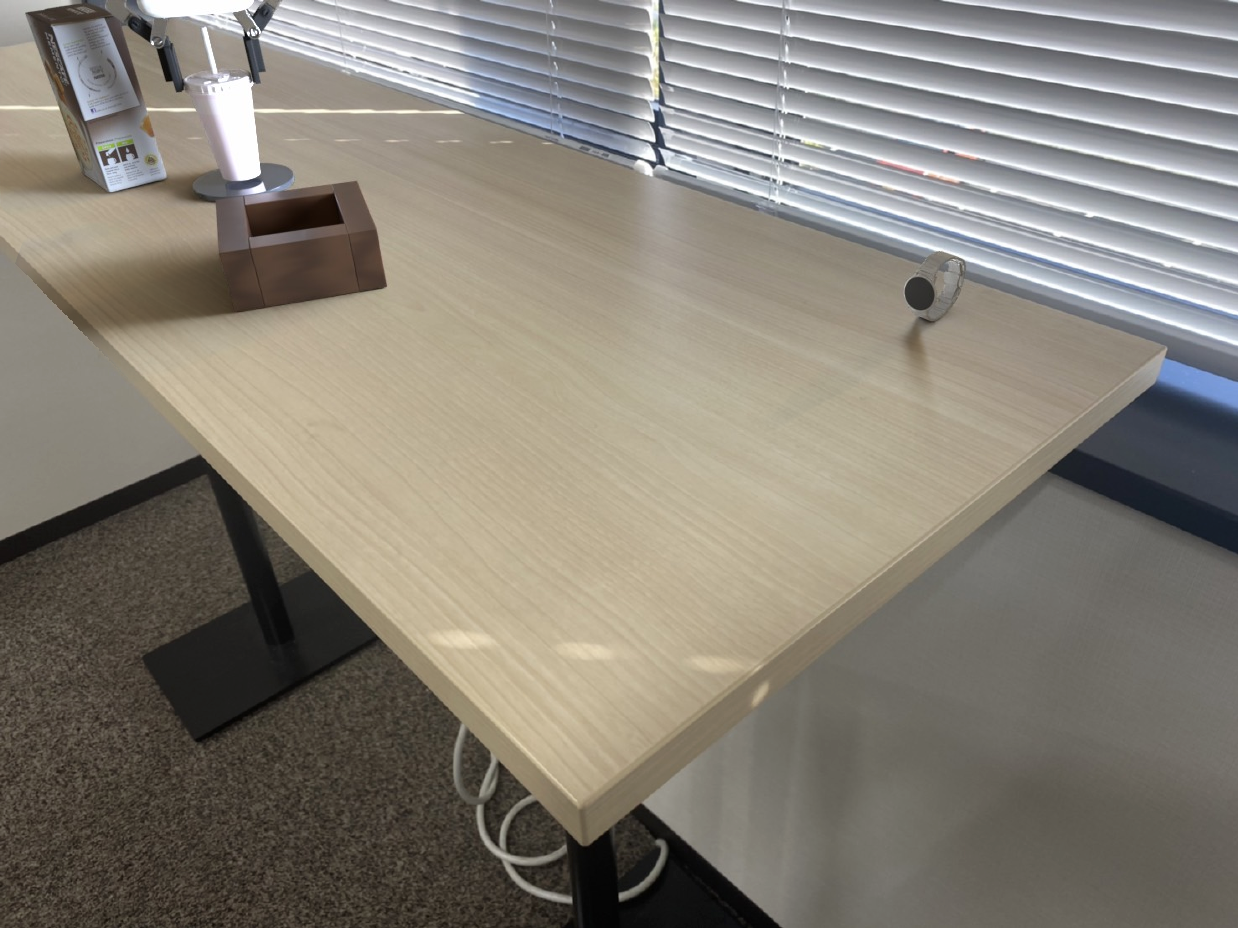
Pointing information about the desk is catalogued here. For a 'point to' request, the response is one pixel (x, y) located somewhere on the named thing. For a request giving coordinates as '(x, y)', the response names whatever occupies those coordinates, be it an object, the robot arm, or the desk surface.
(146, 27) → the robot arm
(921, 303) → the wristwatch
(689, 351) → the desk surface
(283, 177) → the coaster
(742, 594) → the desk surface
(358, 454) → the desk surface
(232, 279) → the stand
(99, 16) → the coffee box
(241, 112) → the smoothie
